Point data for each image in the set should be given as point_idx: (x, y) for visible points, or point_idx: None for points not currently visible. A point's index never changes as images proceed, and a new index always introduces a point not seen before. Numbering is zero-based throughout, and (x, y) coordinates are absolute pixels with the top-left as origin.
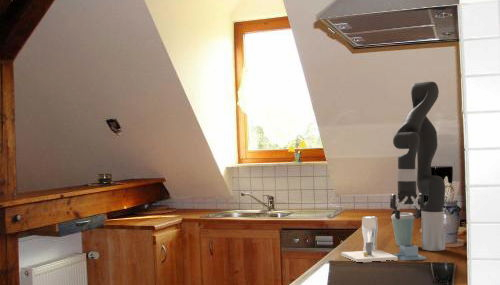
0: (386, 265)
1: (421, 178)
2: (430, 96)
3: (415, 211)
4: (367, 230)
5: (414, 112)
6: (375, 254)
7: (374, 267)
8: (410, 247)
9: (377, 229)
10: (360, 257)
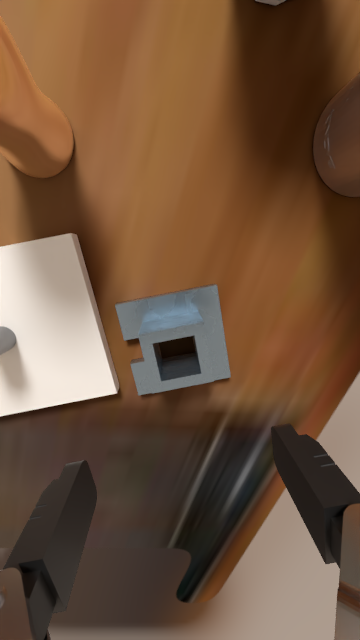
0: (61, 457)
1: None
2: None
3: (308, 500)
4: None
5: None
6: (32, 340)
7: (17, 482)
8: (176, 387)
9: (9, 92)
10: None
